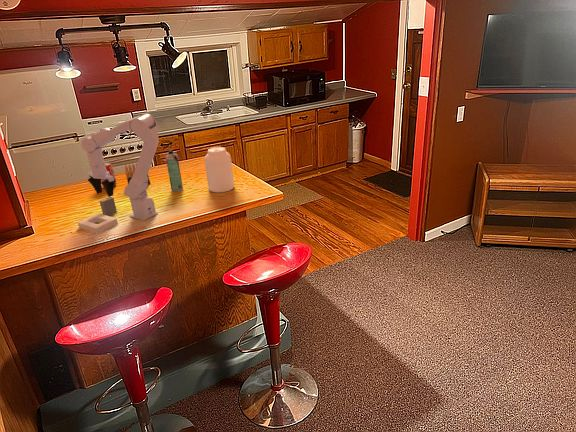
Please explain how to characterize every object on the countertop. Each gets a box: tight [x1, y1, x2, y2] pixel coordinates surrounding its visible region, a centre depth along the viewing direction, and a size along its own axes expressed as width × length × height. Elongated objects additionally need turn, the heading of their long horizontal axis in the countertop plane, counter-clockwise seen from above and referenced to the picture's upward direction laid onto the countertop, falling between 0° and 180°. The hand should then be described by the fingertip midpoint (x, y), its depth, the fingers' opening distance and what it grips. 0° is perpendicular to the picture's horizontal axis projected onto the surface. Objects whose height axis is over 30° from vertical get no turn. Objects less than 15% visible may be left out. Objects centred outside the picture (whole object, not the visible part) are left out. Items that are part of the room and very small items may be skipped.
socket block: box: [77, 212, 119, 235], centre depth 176 cm, size 12×10×2 cm
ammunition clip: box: [124, 162, 151, 185], centre depth 215 cm, size 11×2×12 cm, turn 114°
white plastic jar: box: [204, 146, 235, 193], centre depth 204 cm, size 12×12×20 cm
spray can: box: [165, 149, 184, 193], centre depth 205 cm, size 6×6×20 cm
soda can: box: [101, 161, 117, 188], centre depth 215 cm, size 7×7×12 cm
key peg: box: [99, 196, 118, 217], centre depth 186 cm, size 3×5×7 cm, turn 148°
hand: (105, 194), depth 183 cm, fingers open, 7 cm apart
